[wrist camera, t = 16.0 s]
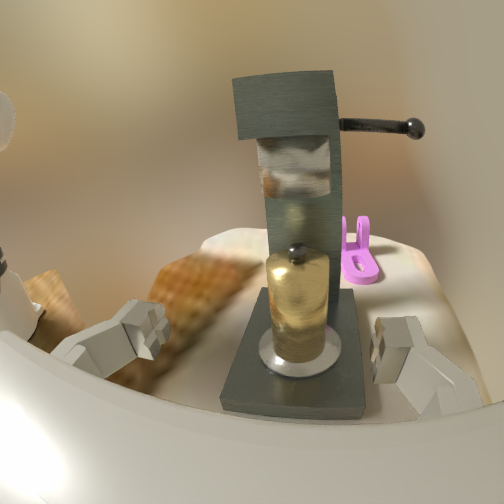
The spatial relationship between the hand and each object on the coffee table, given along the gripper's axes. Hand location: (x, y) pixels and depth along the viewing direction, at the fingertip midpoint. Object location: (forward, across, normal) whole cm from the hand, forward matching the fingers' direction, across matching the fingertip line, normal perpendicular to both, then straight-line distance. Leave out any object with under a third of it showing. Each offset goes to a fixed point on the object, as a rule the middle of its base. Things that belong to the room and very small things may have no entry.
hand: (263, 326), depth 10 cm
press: (+14, -5, +15) cm, 21 cm away
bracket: (+34, -9, +15) cm, 38 cm away
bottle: (+12, -1, +12) cm, 17 cm away
